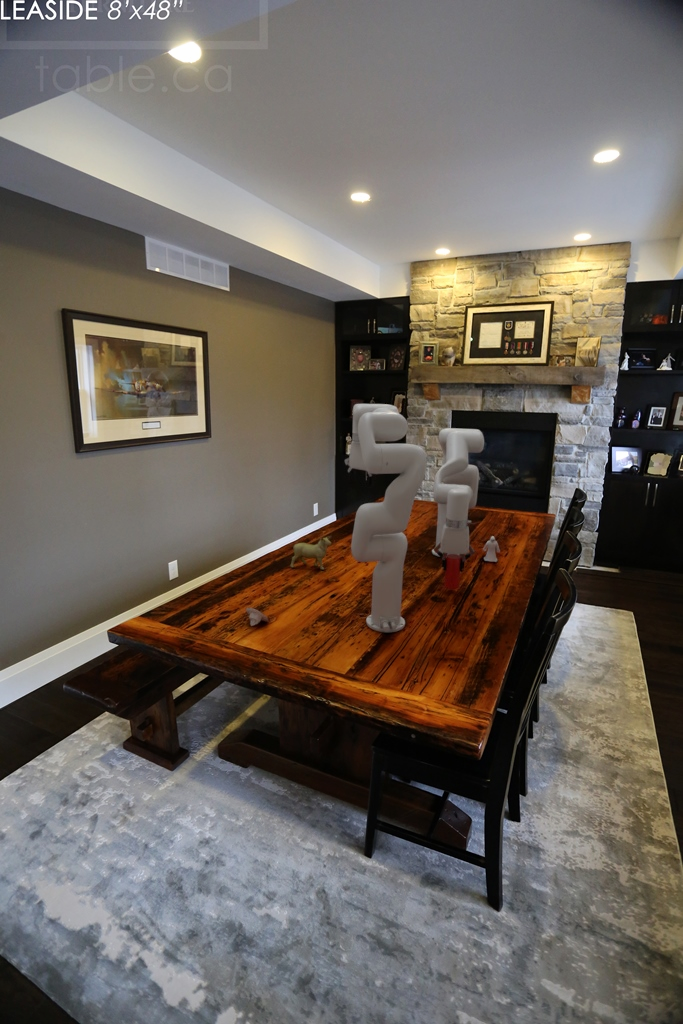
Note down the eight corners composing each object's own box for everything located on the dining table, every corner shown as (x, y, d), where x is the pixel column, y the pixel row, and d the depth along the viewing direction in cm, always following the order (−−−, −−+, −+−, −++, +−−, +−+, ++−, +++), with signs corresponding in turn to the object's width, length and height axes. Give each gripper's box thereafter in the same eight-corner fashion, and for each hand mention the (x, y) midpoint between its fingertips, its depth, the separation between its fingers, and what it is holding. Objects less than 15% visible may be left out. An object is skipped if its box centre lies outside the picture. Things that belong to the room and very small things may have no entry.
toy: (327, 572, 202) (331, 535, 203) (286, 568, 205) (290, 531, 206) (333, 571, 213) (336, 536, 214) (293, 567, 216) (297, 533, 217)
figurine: (481, 562, 222) (483, 536, 219) (482, 556, 230) (484, 531, 227) (499, 564, 220) (501, 538, 217) (499, 558, 228) (501, 533, 225)
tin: (461, 588, 186) (463, 558, 183) (448, 589, 185) (451, 559, 181) (453, 582, 191) (456, 553, 188) (441, 584, 189) (443, 554, 186)
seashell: (251, 634, 162) (235, 615, 161) (262, 623, 165) (246, 604, 164) (262, 630, 156) (245, 610, 155) (273, 618, 159) (257, 599, 158)
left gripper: (387, 440, 178) (385, 487, 182) (353, 436, 190) (352, 480, 194) (373, 441, 173) (371, 489, 177) (338, 437, 185) (338, 482, 189)
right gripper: (479, 521, 184) (475, 567, 188) (432, 518, 186) (429, 564, 191) (481, 527, 176) (477, 575, 181) (432, 524, 179) (429, 571, 184)
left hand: (361, 484), depth 186 cm, fingers open, 9 cm apart
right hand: (452, 569), depth 186 cm, fingers closed on tin, 5 cm apart
